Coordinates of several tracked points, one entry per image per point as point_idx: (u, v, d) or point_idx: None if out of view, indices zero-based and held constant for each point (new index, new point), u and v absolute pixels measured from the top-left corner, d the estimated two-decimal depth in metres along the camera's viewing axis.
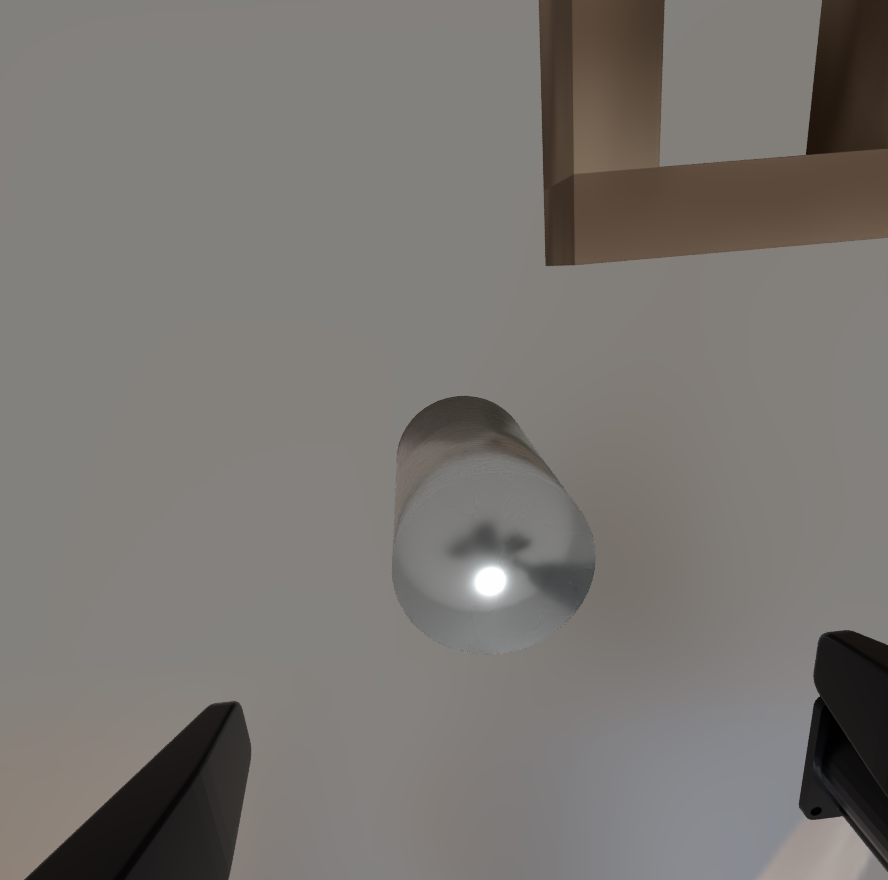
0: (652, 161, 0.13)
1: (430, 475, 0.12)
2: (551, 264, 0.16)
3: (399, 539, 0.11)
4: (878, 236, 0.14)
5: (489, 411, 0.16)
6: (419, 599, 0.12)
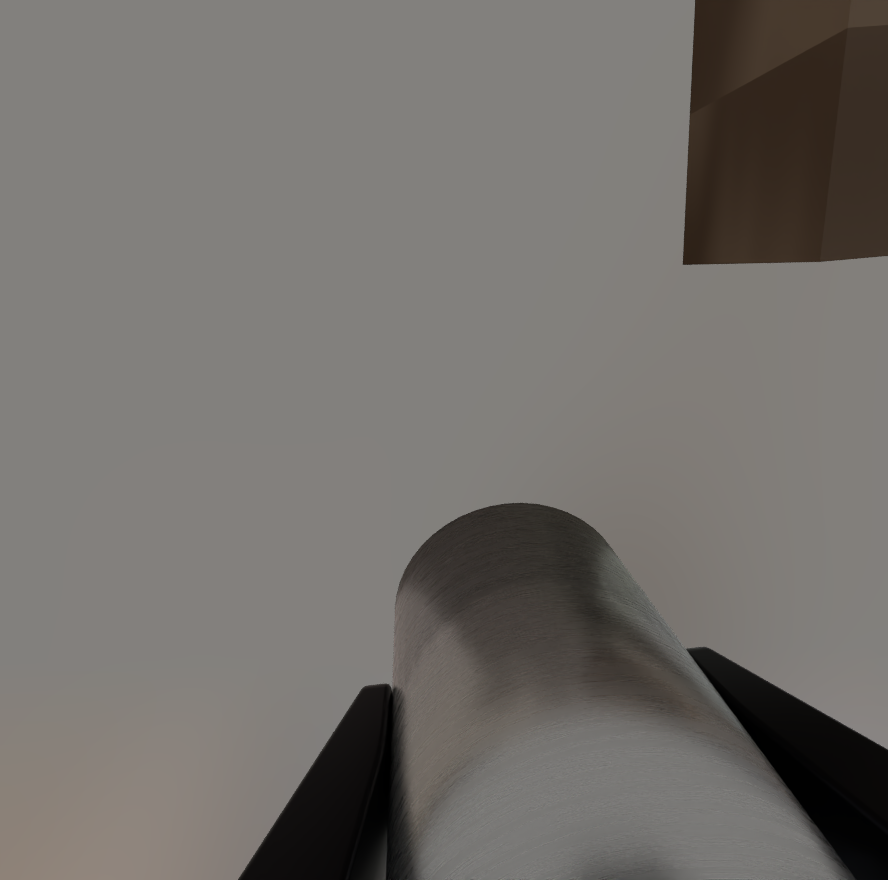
0: None
1: None
2: (705, 261, 0.08)
3: None
4: None
5: (578, 553, 0.08)
6: None
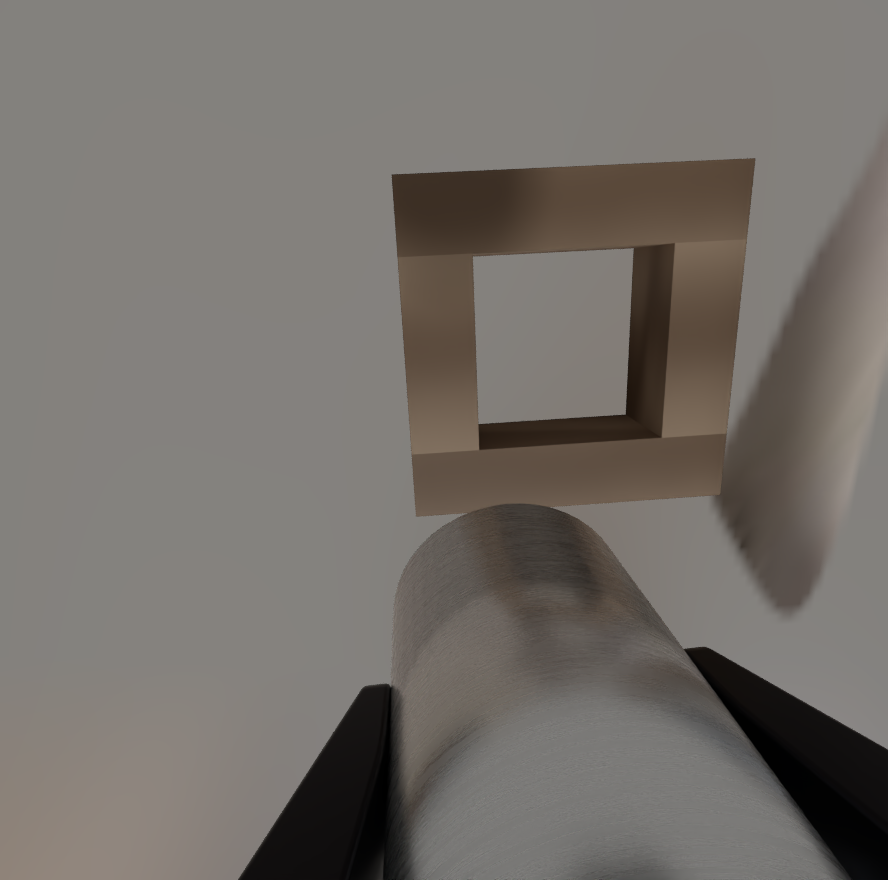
0: (473, 446, 0.17)
1: None
2: None
3: None
4: (659, 497, 0.18)
5: (576, 554, 0.08)
6: None
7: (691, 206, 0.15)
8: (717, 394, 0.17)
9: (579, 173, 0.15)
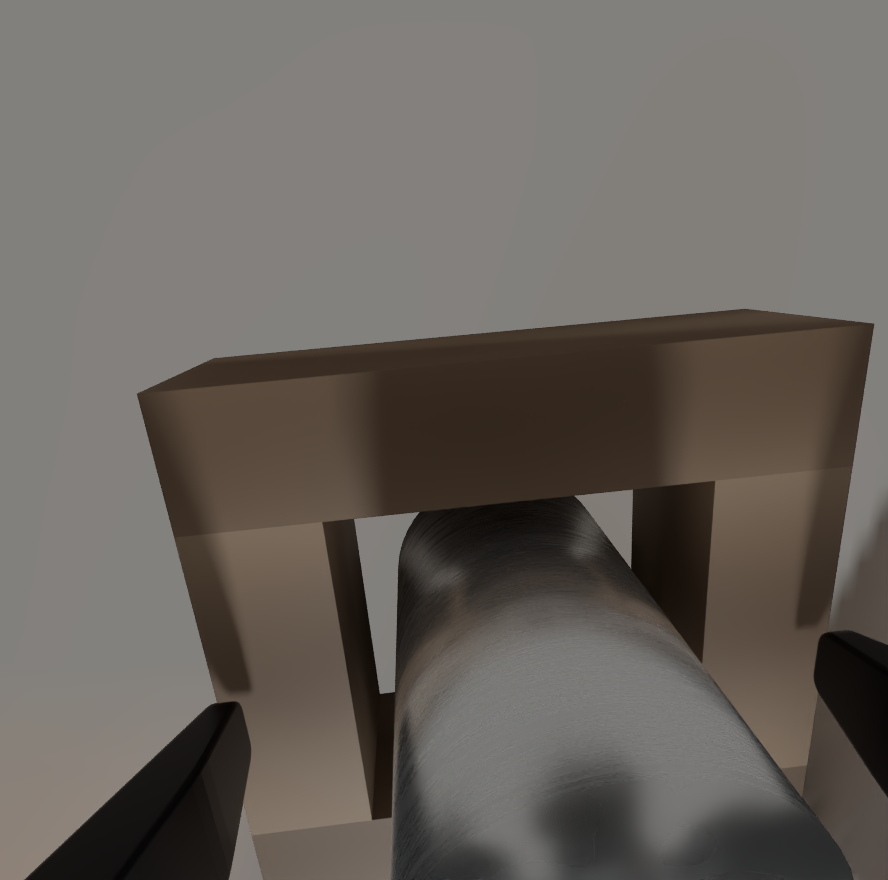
0: (361, 816, 0.10)
1: (473, 726, 0.05)
2: None
3: None
4: None
5: (556, 510, 0.10)
6: None
7: (746, 416, 0.08)
8: (792, 711, 0.10)
9: (522, 370, 0.07)
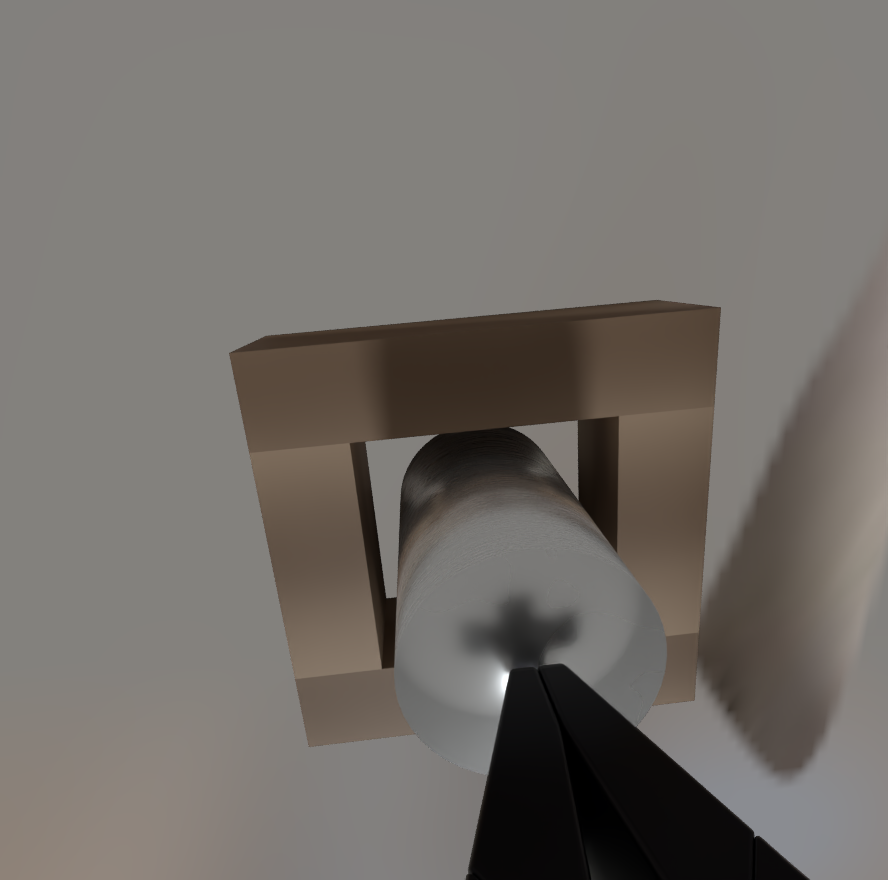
0: (374, 665, 0.13)
1: (445, 544, 0.09)
2: None
3: (404, 638, 0.08)
4: None
5: (514, 444, 0.13)
6: (429, 712, 0.09)
7: (637, 371, 0.11)
8: (684, 589, 0.13)
9: (484, 338, 0.11)
